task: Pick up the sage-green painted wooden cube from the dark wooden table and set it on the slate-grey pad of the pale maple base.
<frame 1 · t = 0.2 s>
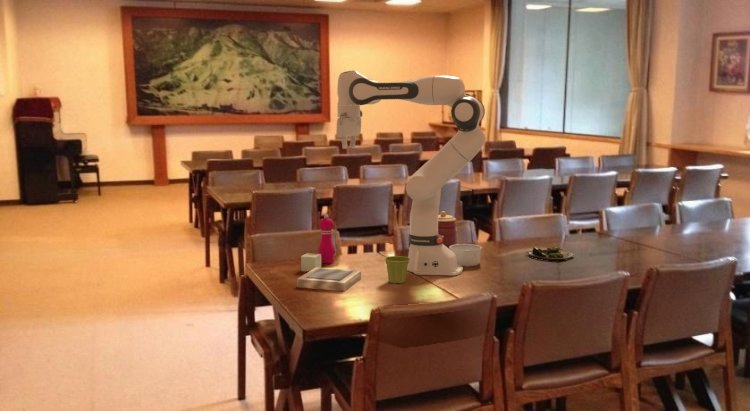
hand: (348, 147, 269), 47 cm above the table, fingers open, 8 cm apart
salad plate: (549, 258, 289), on the table
plinth: (329, 282, 247), on the table
sage cube: (311, 270, 267), on the table
canister: (442, 250, 302), on the table
plant pot: (397, 282, 249), on the table
pepper mill: (326, 262, 280), on the table
ramekin: (465, 264, 277), on the table
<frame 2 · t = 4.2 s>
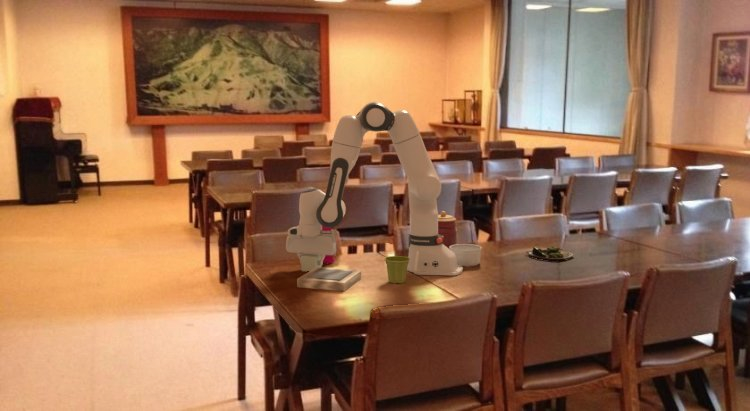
hand: (311, 264, 266), 2 cm above the table, fingers closed on sage cube, 6 cm apart
sage cube: (311, 269, 267), on the table, touching gripper
everything else where it was.
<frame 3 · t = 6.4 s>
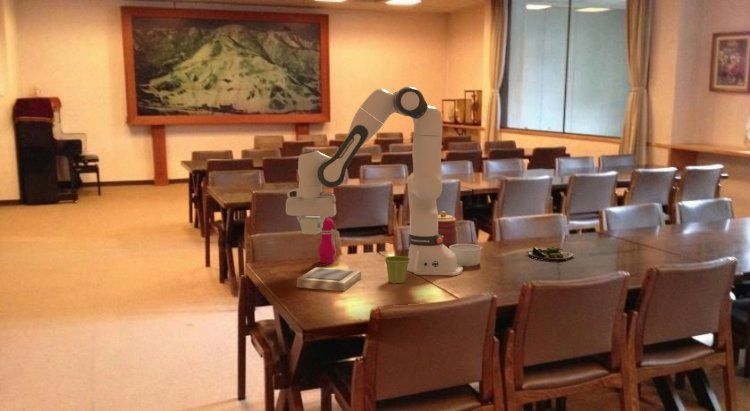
hand: (311, 227, 264), 17 cm above the table, fingers closed on sage cube, 6 cm apart
sage cube: (311, 232, 264), point 15 cm above the table, touching gripper
everything else where it was.
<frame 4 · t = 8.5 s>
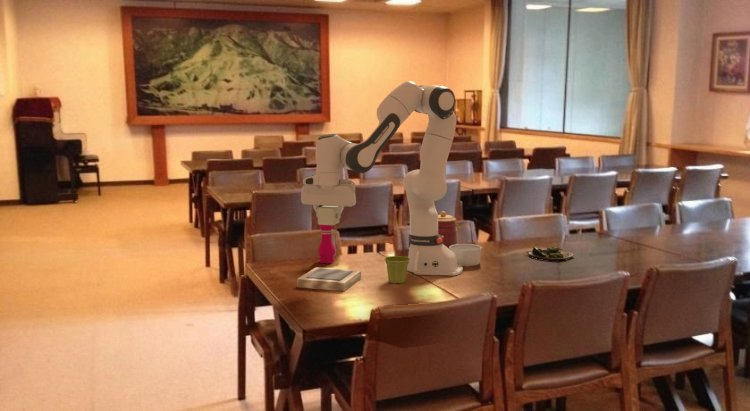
hand: (328, 217, 244), 24 cm above the table, fingers closed on sage cube, 6 cm apart
sage cube: (328, 223, 245), point 22 cm above the table, touching gripper
everything else where it was.
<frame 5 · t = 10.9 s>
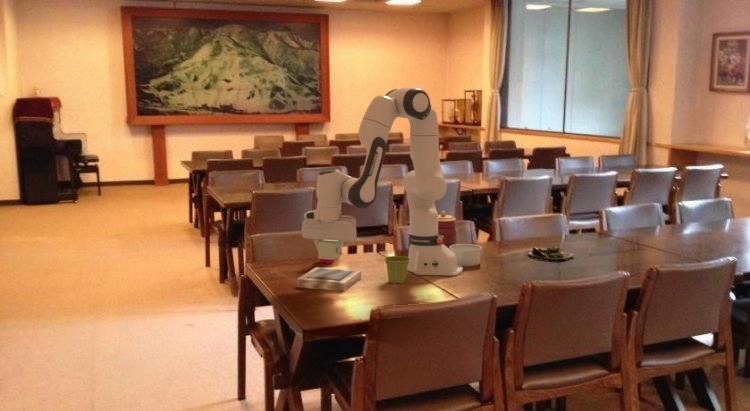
hand: (329, 251, 246), 12 cm above the table, fingers closed on sage cube, 6 cm apart
sage cube: (329, 257, 246), point 10 cm above the table, touching gripper
everything else where it was.
when the fingers open (7 cm above the table, at t = 12.8 s): sage cube drops 1 cm, resting on plinth.
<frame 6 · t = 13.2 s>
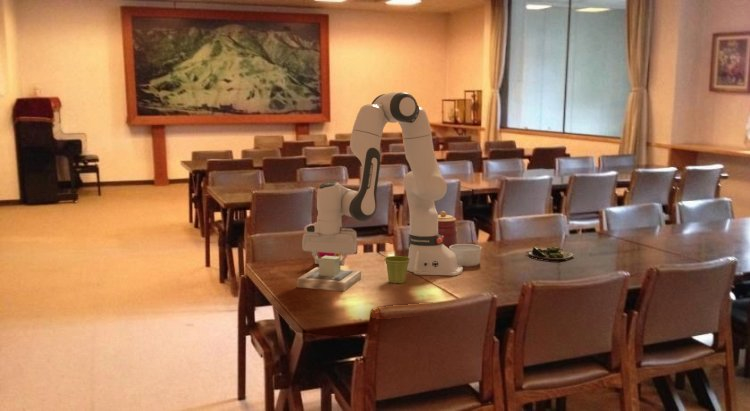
hand: (329, 264, 246), 7 cm above the table, fingers open, 8 cm apart
sage cube: (329, 274, 247), point 3 cm above the table, touching plinth
everything else where it was.
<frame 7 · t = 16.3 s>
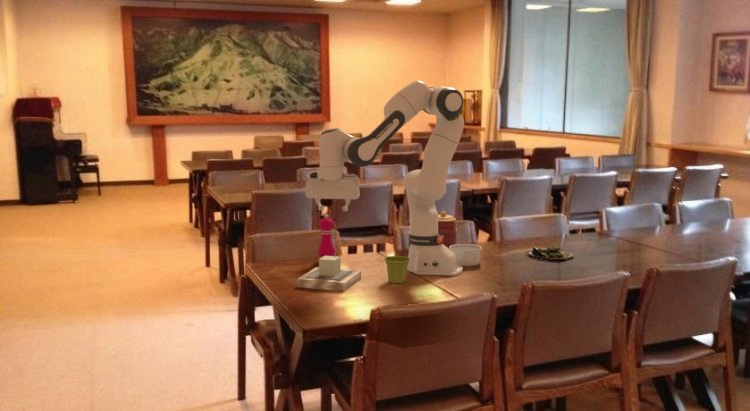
hand: (333, 210, 249), 26 cm above the table, fingers open, 8 cm apart
nothing on the table moved.
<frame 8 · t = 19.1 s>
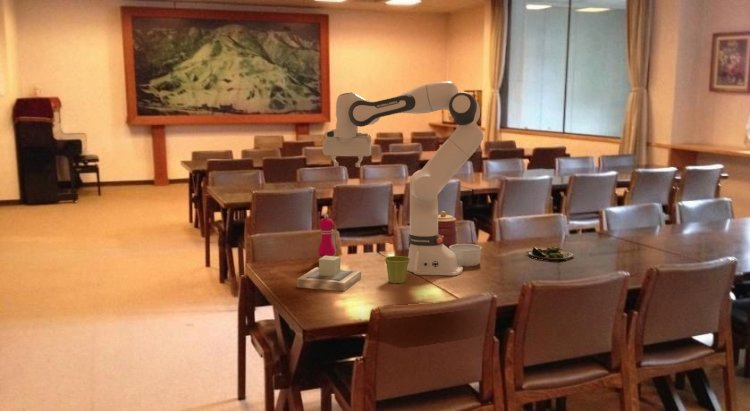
hand: (347, 166, 277), 39 cm above the table, fingers open, 8 cm apart
nothing on the table moved.
at the end: sage cube inside the target area on the plinth (0.0 cm from its centre), point 3.3 cm above the plinth's base; sage cube tilted 0°; the gripper is holding nothing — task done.
